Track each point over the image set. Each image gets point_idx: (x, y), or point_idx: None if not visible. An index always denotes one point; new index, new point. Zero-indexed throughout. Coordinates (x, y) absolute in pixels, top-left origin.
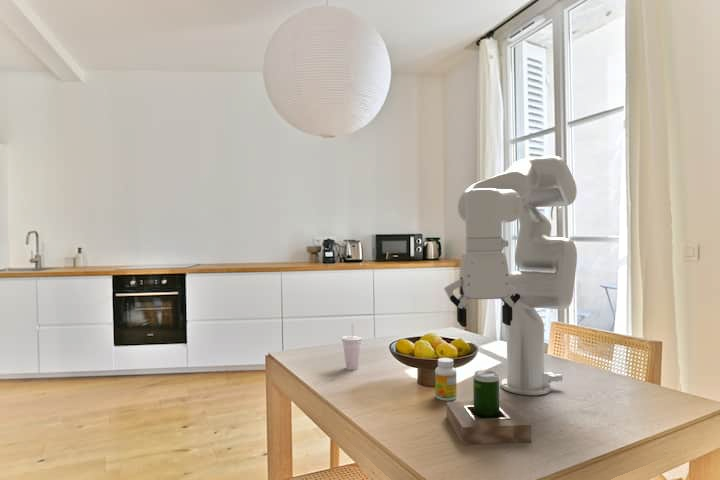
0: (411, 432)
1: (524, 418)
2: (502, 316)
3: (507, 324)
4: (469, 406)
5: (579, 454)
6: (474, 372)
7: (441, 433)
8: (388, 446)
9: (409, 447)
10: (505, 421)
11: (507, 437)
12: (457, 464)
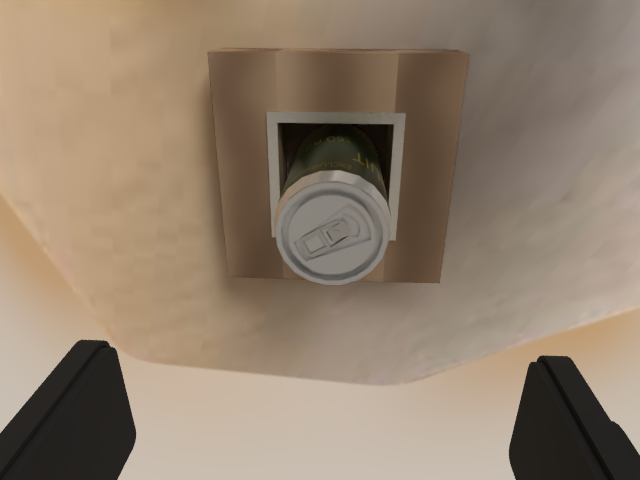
0: (98, 162)
1: (444, 238)
2: (556, 409)
3: (511, 462)
4: (289, 120)
5: (513, 327)
6: (280, 212)
7: (189, 178)
8: (40, 241)
9: (96, 252)
10: None
11: None
12: (207, 337)
